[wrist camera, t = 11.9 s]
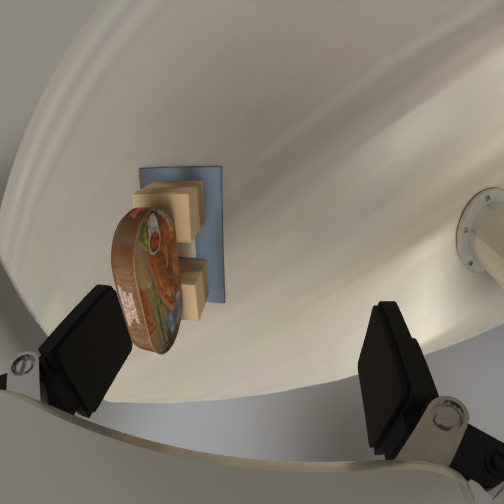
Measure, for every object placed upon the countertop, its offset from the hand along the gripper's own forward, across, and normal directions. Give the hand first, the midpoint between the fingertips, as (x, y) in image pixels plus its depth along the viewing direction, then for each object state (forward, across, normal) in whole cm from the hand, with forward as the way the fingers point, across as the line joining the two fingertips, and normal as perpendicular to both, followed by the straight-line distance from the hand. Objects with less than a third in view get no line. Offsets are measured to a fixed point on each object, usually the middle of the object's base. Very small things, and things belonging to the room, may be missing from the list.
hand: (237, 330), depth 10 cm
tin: (+18, +11, +8) cm, 23 cm away
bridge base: (+25, +11, +7) cm, 28 cm away
